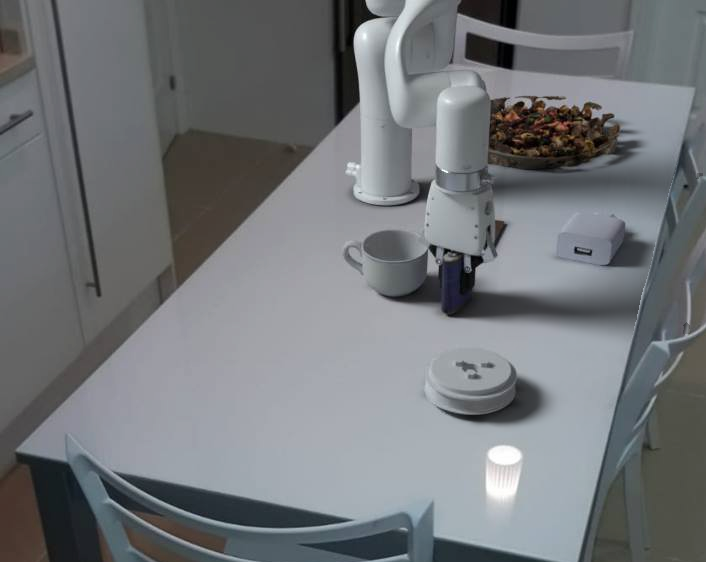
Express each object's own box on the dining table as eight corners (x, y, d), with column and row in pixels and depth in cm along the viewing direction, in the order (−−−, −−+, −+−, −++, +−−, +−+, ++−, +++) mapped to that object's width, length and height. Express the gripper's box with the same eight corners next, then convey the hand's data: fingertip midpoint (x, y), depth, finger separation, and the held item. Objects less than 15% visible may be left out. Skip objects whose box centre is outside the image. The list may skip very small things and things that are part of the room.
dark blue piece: (461, 286, 176) (464, 224, 169) (478, 290, 175) (481, 228, 168) (437, 312, 170) (439, 249, 163) (454, 316, 169) (457, 253, 162)
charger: (631, 231, 192) (608, 266, 182) (580, 222, 196) (555, 256, 185) (635, 205, 189) (612, 240, 179) (583, 197, 193) (558, 230, 182)
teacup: (437, 279, 179) (439, 234, 174) (412, 309, 172) (413, 263, 167) (361, 265, 184) (360, 220, 179) (333, 293, 176) (331, 247, 171)
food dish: (640, 135, 231) (646, 98, 226) (577, 192, 210) (583, 153, 205) (492, 102, 245) (495, 67, 240) (419, 153, 224) (421, 115, 219)
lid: (450, 429, 146) (451, 398, 142) (409, 382, 155) (409, 352, 152) (532, 406, 149) (535, 376, 146) (487, 362, 159) (489, 332, 156)
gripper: (522, 178, 158) (514, 291, 169) (425, 156, 165) (423, 266, 176) (498, 196, 153) (491, 312, 164) (399, 173, 160) (399, 285, 171)
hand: (456, 287), depth 170 cm, fingers closed on dark blue piece, 3 cm apart
